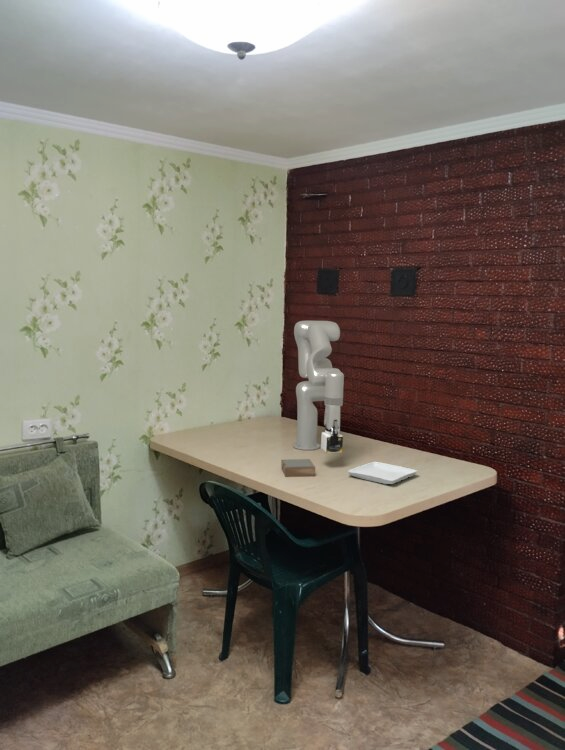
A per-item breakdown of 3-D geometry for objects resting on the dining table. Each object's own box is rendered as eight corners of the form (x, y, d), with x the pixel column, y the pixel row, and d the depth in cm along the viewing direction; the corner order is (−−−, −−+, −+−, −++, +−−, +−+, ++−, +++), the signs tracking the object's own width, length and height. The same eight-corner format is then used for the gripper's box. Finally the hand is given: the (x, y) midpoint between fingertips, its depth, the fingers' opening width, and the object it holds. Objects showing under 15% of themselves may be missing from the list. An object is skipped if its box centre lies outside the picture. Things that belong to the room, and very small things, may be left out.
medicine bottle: (326, 453, 263) (327, 425, 261) (320, 448, 270) (321, 420, 268) (342, 452, 265) (343, 424, 263) (336, 447, 272) (337, 420, 270)
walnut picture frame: (281, 468, 266) (281, 459, 266) (309, 468, 268) (309, 458, 268) (285, 476, 255) (285, 467, 254) (315, 476, 256) (315, 466, 256)
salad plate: (373, 467, 272) (373, 460, 271) (418, 477, 259) (419, 469, 258) (345, 478, 256) (345, 470, 255) (392, 489, 242) (392, 480, 242)
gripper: (320, 396, 272) (319, 437, 275) (329, 405, 255) (327, 448, 258) (337, 397, 273) (336, 437, 276) (347, 405, 256) (345, 448, 259)
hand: (331, 442), depth 267 cm, fingers closed on medicine bottle, 7 cm apart
